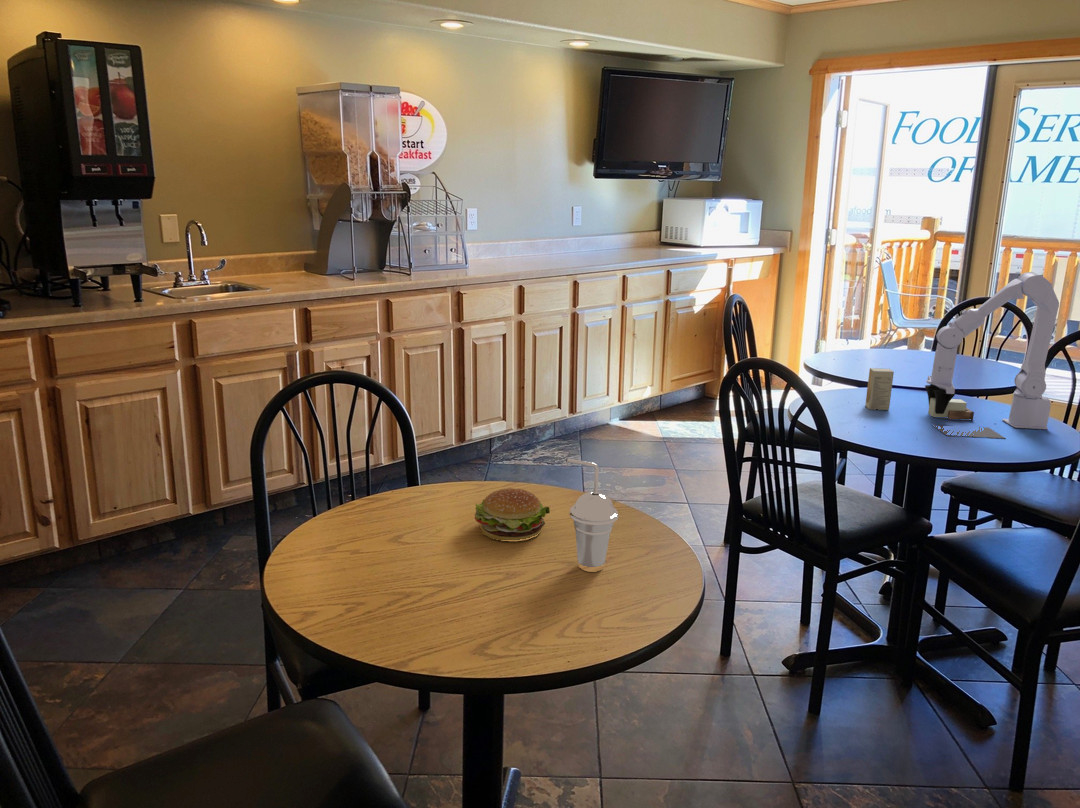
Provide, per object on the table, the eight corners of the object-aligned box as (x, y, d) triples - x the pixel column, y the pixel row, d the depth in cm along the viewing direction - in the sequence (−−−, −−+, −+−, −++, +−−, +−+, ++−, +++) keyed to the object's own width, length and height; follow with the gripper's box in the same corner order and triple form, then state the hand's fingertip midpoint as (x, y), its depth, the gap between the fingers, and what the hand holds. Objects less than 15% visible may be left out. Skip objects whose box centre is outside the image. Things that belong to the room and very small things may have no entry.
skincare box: (885, 406, 259) (890, 368, 256) (889, 410, 255) (895, 371, 252) (863, 405, 260) (869, 367, 257) (867, 409, 256) (873, 370, 253)
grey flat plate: (988, 428, 240) (988, 427, 240) (1005, 438, 231) (1005, 438, 231) (931, 425, 241) (932, 424, 241) (946, 436, 231) (946, 435, 231)
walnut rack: (962, 414, 254) (963, 406, 254) (972, 420, 248) (974, 412, 247) (939, 413, 255) (940, 405, 254) (948, 419, 248) (950, 411, 247)
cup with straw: (605, 582, 141) (611, 470, 136) (556, 570, 145) (561, 461, 140) (621, 562, 149) (629, 456, 143) (575, 551, 152) (580, 447, 147)
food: (458, 535, 158) (459, 496, 155) (500, 512, 169) (501, 475, 167) (520, 554, 151) (521, 513, 149) (559, 528, 162) (561, 490, 160)
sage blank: (958, 415, 253) (961, 399, 251) (963, 419, 249) (966, 403, 248) (927, 413, 253) (930, 397, 252) (932, 417, 250) (935, 401, 248)
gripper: (920, 361, 254) (913, 404, 258) (940, 372, 241) (932, 417, 244) (943, 362, 254) (936, 405, 258) (965, 373, 240) (957, 418, 244)
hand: (936, 411), depth 251 cm, fingers closed on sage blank, 4 cm apart
